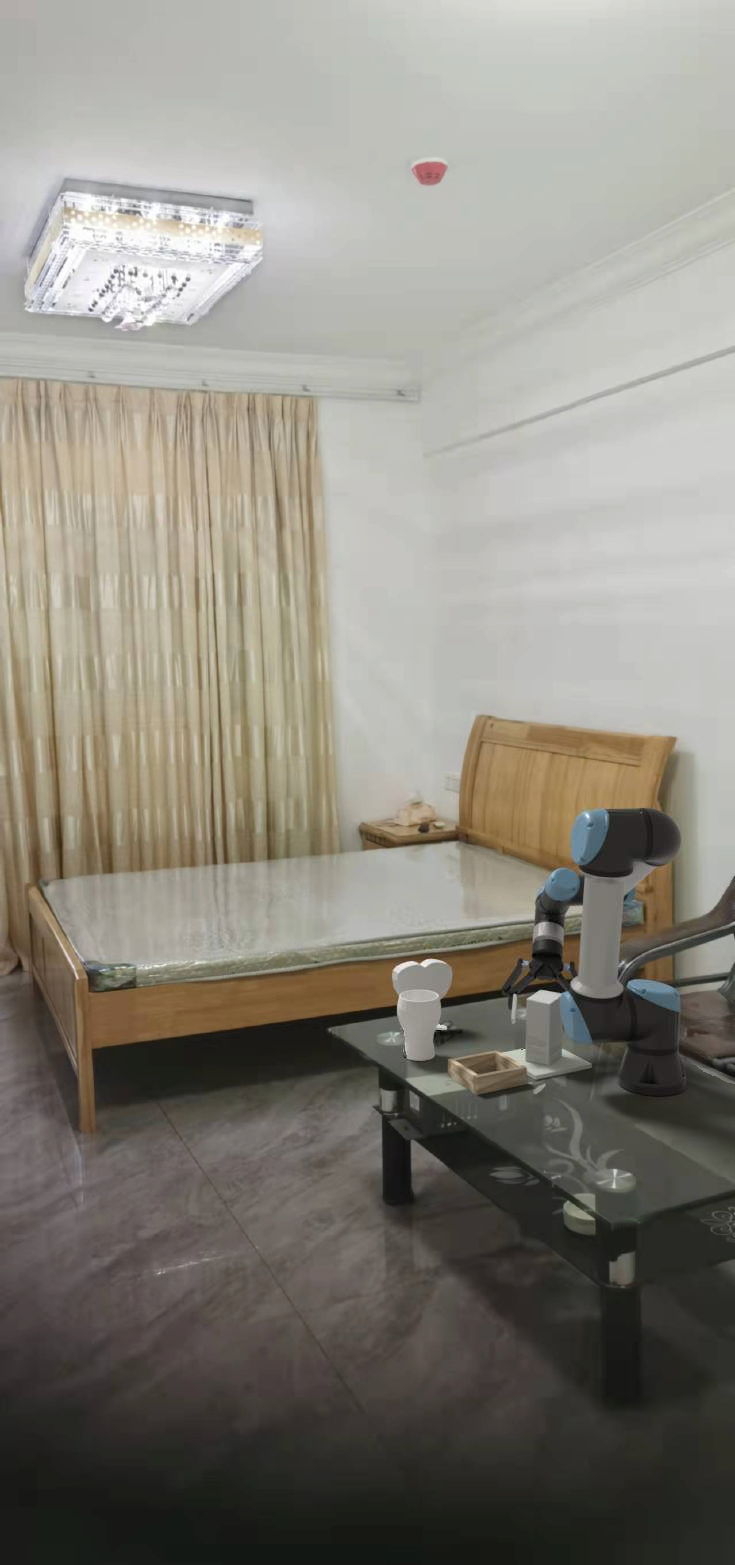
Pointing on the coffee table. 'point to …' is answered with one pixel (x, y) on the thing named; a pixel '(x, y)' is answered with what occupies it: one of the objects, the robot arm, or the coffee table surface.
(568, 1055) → the board
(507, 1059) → the caddy
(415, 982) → the heart sculpture
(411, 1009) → the cup
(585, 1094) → the coffee table surface
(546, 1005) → the skincare box
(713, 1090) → the coffee table surface
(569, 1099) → the coffee table surface
